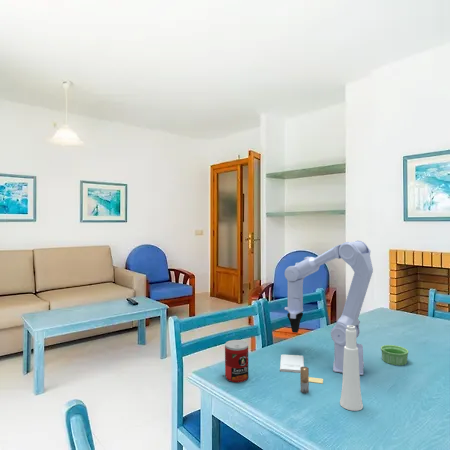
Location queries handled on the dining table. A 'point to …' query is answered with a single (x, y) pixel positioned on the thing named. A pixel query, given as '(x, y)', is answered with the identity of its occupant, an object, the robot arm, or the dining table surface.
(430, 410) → the dining table surface
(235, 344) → the canned food
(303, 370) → the photo-textured cylinder
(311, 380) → the plate
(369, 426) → the dining table surface
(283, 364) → the external hard drive
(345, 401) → the cosmetic bottle
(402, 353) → the ramekin
